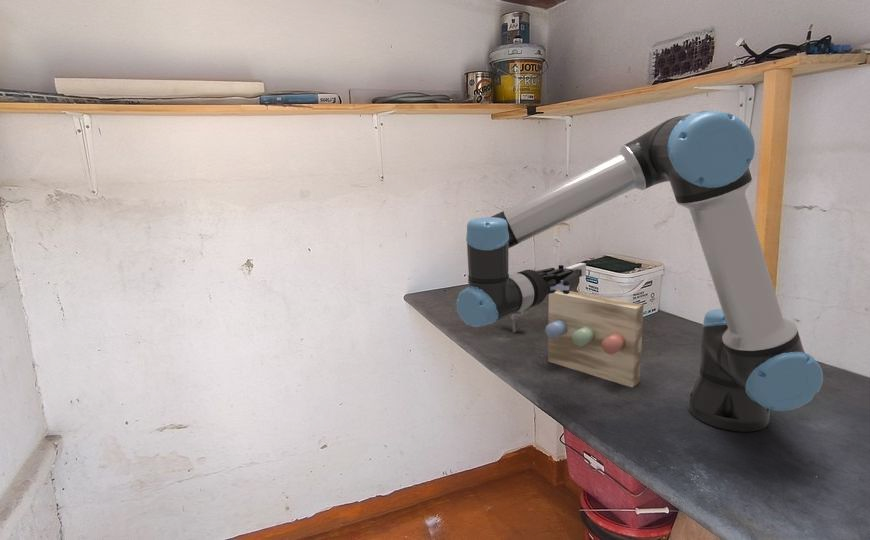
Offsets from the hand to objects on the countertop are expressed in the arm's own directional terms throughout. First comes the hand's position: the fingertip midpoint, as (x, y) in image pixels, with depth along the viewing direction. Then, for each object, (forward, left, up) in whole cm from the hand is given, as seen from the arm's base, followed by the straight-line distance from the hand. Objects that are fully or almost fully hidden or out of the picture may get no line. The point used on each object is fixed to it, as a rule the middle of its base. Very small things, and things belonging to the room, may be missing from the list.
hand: (582, 268), depth 116 cm
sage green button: (+5, -4, -21) cm, 22 cm away
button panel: (+7, -7, -30) cm, 32 cm away
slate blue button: (+12, 0, -21) cm, 24 cm away
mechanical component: (+42, 0, -30) cm, 52 cm away
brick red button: (-2, -8, -21) cm, 22 cm away
